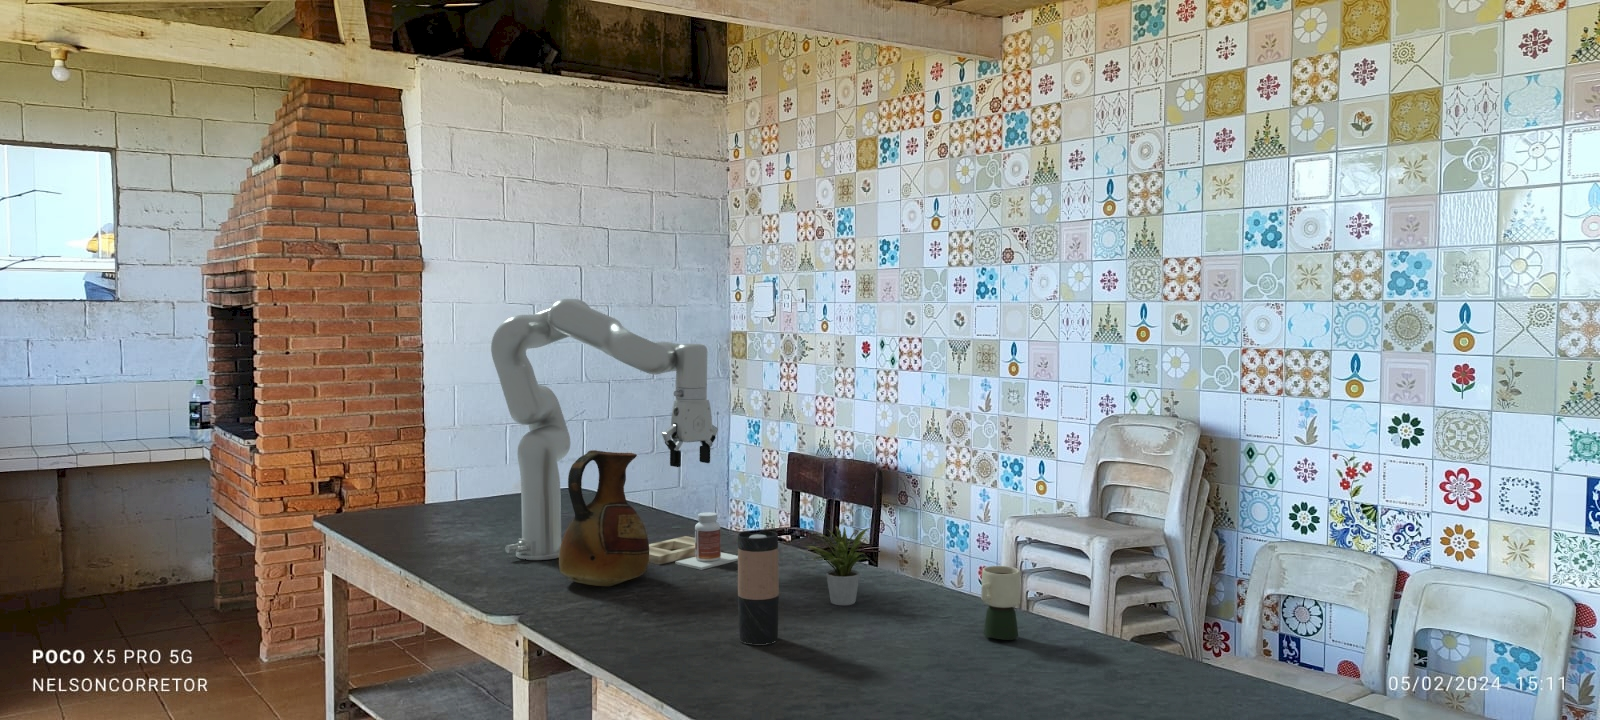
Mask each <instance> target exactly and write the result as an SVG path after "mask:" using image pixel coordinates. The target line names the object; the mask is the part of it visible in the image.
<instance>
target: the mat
mask: <svg viewBox="0 0 1600 720" xmlns="http://www.w3.org/2000/svg"><path fill="white" fill-rule="evenodd" d="M674 562H675V565H679V566H683V567H688V568H692V569H697V570H700V571H702V570H706V569H710V568H715V567H718V566H722V565H725V564H726V565H727V564H729V563H733V562H734V563H735V562H738V555H736V554H731V553H726V552H722V551H721V558H720V559H719V560H716V561H709V562H707V561H698V560H696V558H695V556H693V557H689V558H685V559H681V560H676V561H674Z"/></svg>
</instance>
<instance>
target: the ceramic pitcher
mask: <svg viewBox="0 0 1600 720" xmlns="http://www.w3.org/2000/svg"><path fill="white" fill-rule="evenodd" d="M636 457H638V455H637V454H636V453H633V452H614V451H613V452H611V451H610V452H609V451H601V450H594V449H593V450H588V451H587V453H585V454H584V455H581V456H580V457H578V459H576V460H575V461H574V462H573V464H572V465H571V467H570V468H569V472H568V478H567V488H568V489H567V490H568V494H569V498H570V501H571V505H572V508H573V509H572V510H573V511H574V517H573V519H572V520H571V522H570V523H569V524H568V527H567V528H566V530H565V533H564V535H563V536H562V538H561V547H560V552H559V558H558V566H559V572H560V574H562V575H564V576H565V577H567V578H569V579H571V580H572V581H573V582H575V583H579V584H584V585H590V586H595V587H596V586H597V587H613V586H616V585H619V584H622V583H623V582H626V581H629V580H633V579H636V578H639V577H640V576H642V575H643V574H644V573H646V571H647V569H648V567H649V566H648V565H649V544H650V543H649V537H648V534H647V533H648V532H647V529H646V527H645V524H644V521H643V520H642V518H641V517H640V515H639V514H638V513H637V511H636V510H635V509H634V507H632V506H631V505H630V504H629V503H628V502H627V499H626V495H625V488H624V487H625V484H626V480H627V476H626V475H627V468H628V466H629V464H630V463H631V462H632V461H633V460H634V459H636ZM590 462H595V464H596V465H597V469H598V485H597V489H596V492H595V496H594V497H593V499H592V501H591V502H589V503H588V504H586V502H585V498H584V497H583V491H582V486H583V485H582V483H583V475H584V471H585V469H586V466H587V465H588V464H589V463H590Z"/></svg>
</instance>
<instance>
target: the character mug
mask: <svg viewBox="0 0 1600 720" xmlns="http://www.w3.org/2000/svg"><path fill="white" fill-rule="evenodd" d="M980 591H981V592H980V593H981V594H980V595H981V596H980V598H981V601H982V602H983V603H984V604H985V605H987V606H988V607H987V610H986V614H985V620H984V629H983V630H984V631H983V636H984V637H986V638H990V639H991V638H992V639H994V640H995V641H998V640H1002V641H1003V640H1004V641H1005V640H1007V641H1009V640H1010V641H1012V640H1015V639H1017V638H1018V636H1019V629H1018V622H1017V615H1016V614H1017V613H1016V610H1015V608H1014V607H1017V606H1019V605H1020V603H1021V570H1020V569H1019V568H1018V567H1014V566H1013V567H1012V566H1008V565H1006V566H1005V565H991V566H990V565H989V566H985V567H983V568H982V571H981V590H980Z"/></svg>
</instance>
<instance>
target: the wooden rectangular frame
mask: <svg viewBox="0 0 1600 720" xmlns="http://www.w3.org/2000/svg"><path fill="white" fill-rule="evenodd" d="M692 557H695V537H693V536H692V537H691V536H687V535H684V536H679V537H676V538H672V539H666V540H662V541H656V542H653V543H649V562H648V564H649V563H650V564H655V565H660V566H661V565H663V564H667V563H671V562H676V561H680V560H684V559H688V558H692Z"/></svg>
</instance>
